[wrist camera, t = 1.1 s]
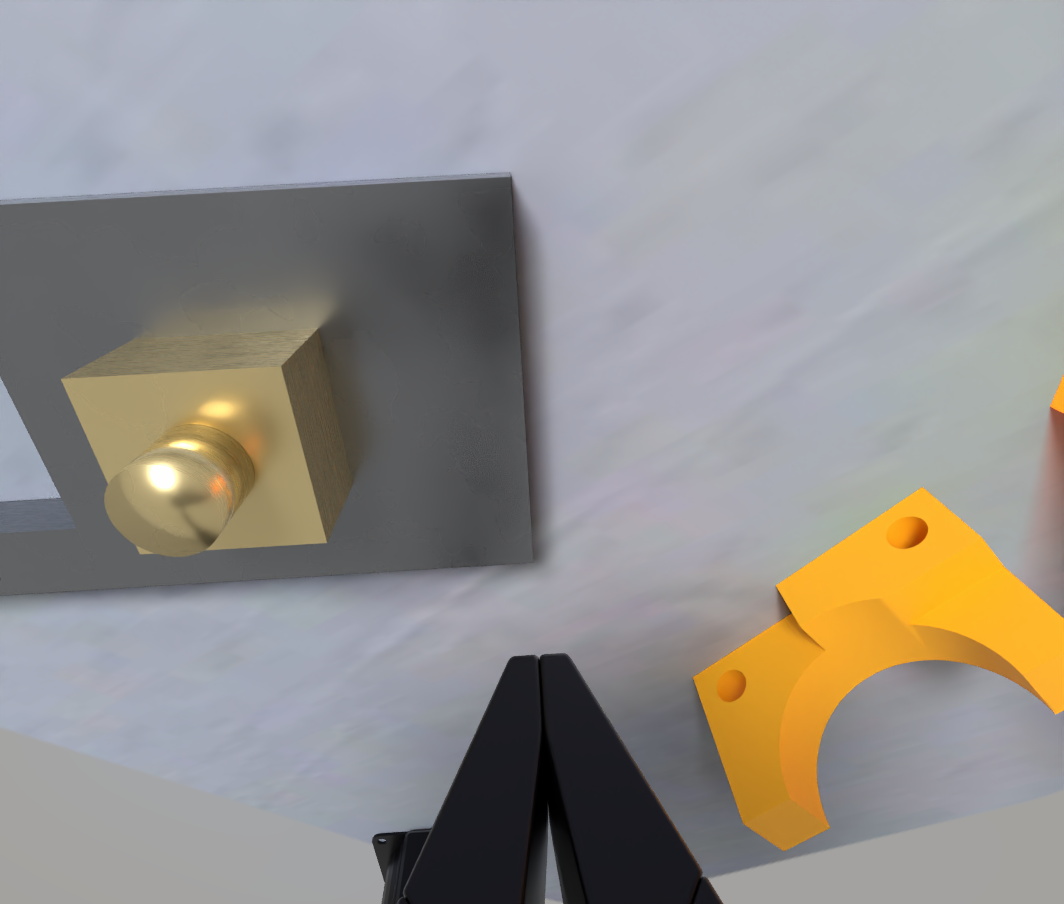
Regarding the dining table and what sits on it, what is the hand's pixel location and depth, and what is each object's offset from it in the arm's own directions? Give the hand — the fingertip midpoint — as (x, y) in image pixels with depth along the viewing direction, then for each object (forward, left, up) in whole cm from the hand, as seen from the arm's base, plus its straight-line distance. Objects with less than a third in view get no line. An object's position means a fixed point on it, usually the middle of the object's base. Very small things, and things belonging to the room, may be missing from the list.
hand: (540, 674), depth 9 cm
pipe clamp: (-11, -12, -12) cm, 20 cm away
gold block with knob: (0, +8, -10) cm, 13 cm away
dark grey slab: (0, +12, -12) cm, 17 cm away
